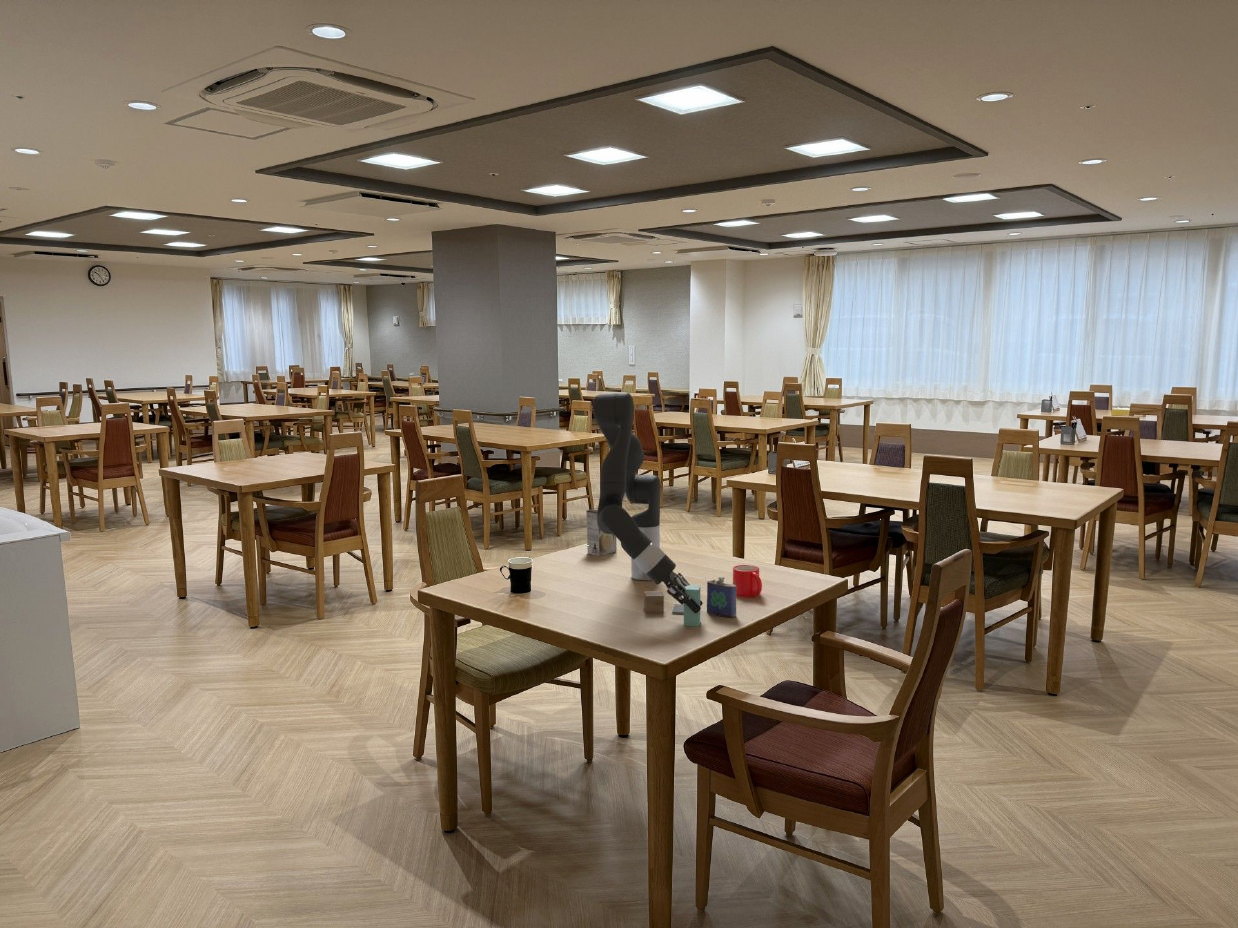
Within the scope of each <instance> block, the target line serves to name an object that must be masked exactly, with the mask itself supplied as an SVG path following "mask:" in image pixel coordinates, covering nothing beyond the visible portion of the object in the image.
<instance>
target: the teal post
mask: <svg viewBox="0 0 1238 928" xmlns="http://www.w3.org/2000/svg"><path fill="white" fill-rule="evenodd" d="M685 588H686V590H687V591H686V592H687V593H688V594H689V595H690V596H691V598H692V599H693V600H694V601H695V602H696V603H697V604H698V605H699V606H700V600H701V585H695V584H694V585H693V584H692V585H691V584H690V585H688V586H685ZM683 605H684V614H683V626H686V627H687V626H690V627H699V626H700V624H701V610H700V611H699V612H698V613H696V614H695V613H694V612H693V611H692V610H691V609H690V608H689V607H688V606H687V605H686V604H683ZM700 607H701V606H700Z"/></svg>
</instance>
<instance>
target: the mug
mask: <svg viewBox="0 0 1238 928" xmlns="http://www.w3.org/2000/svg"><path fill="white" fill-rule="evenodd" d="M732 584H733V585H736V587H737V590H736V597H739V598H754V597H759V595H761V592H762V590H763V581H762V579H761V577H760V568H759V567H758V566H756V565H752V564H751V565H750V564H739V565H734V566H733V567H732Z"/></svg>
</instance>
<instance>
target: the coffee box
mask: <svg viewBox="0 0 1238 928" xmlns="http://www.w3.org/2000/svg"><path fill="white" fill-rule="evenodd" d="M597 512H598V507H597V508H592V509H587V510H586V513H585V514H586V538H587V540H586V542H587V545H589V546H587V549H586V550H587V554H589V555H592V556H596V557H597V556H598V557H601V556H605V555H609V554H612V553H617V552H618V551H617V549H618V548H617V537H616V536H615V535H614V534H606V533H604V532H602V531H601V530H600V529H599V527H598V524H597Z"/></svg>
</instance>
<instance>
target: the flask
mask: <svg viewBox="0 0 1238 928" xmlns="http://www.w3.org/2000/svg"><path fill="white" fill-rule="evenodd" d="M717 579H718V580H717ZM717 579H711V580H708V581H707V582H706V585H707V586H706V613H707V614H710V615H714V616H719V617H724V618H729V619H730V618H731V619H734V618H736V617H737V596H736V590H737V587H736V585H733V583H725V579H726V578H725V577H724V576H720V577H719V576H718V577H717Z"/></svg>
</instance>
